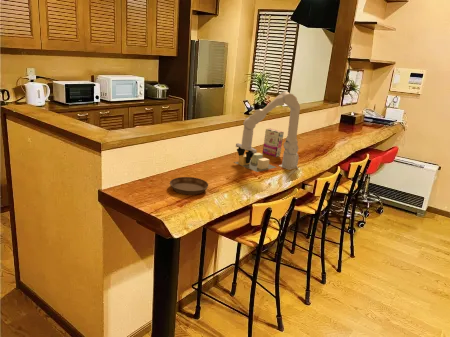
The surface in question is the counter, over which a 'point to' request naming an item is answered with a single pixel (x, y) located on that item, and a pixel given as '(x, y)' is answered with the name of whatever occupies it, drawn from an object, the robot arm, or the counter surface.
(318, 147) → the counter surface
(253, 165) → the rubber mat
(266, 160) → the cream block
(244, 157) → the mustard block
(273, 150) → the candy bar box
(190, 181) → the plant saucer
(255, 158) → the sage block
